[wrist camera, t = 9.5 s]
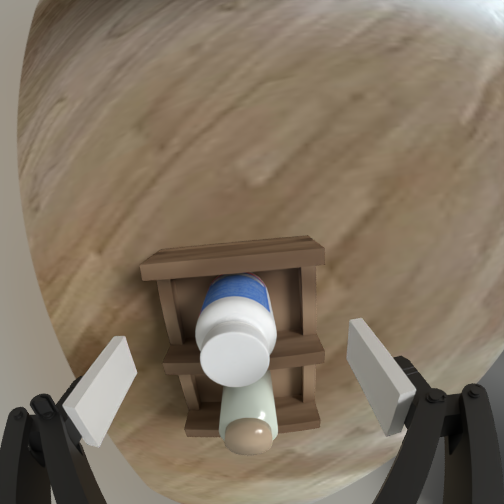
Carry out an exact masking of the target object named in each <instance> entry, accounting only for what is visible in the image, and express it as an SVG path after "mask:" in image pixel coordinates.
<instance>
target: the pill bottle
mask: <svg viewBox="0 0 504 504" xmlns="http://www.w3.org/2000/svg"><path fill="white" fill-rule="evenodd" d="M195 337H196V342H197V345H198V348H199V350H200V351H201V353H200V363H201V366H202V369H203V371H204V372H205V373H206V375H207V376H208V377H209V378H210V379H212V380H213V381H215V382H216V383H218V384H221V385H224V386H228V387H243V386H248V385H250V384H253V383H255V382H257V381H258V380H259V379H261V378H262V377H263V376H264V374H265V373H266V371H267V369H268V367H269V361H270V358H269V355H270V354H271V353H272V351H273V349H274V346H275V343H276V337H277V330H276V325H275V320H274V316H273V311H272V307H271V302H270V297H269V294H268V290H267V287H266V285H265V284H264V282H263V281H262V280H261V279H260V278H259V277H258V276H257V275H255V274H253V273H252V272H246V273H235V274H223V275H219V276H217V277H216V278H215V279H214V280H213V282H212V283H211V285H210V287H209V289H208V291H207V294H206V297H205V300H204V303H203V306H202V309H201V312H200V314H199V317H198V321H197V325H196V331H195Z"/></svg>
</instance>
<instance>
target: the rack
mask: <svg viewBox="0 0 504 504" xmlns="http://www.w3.org/2000/svg"><path fill="white" fill-rule="evenodd" d="M317 265H325V248H324V247H323V246H321V245H320V244H318V243H317V242H316V241H314V240H313V239H312V238H310V237H309V236H296V237H285V238H274V239H263V240H252V241H241V242H231V243H220V244H210V245H200V246H189V247H179V248H170V249H161V250H160V251H158V252H157V253H155V254H154V255H153V256H151V257H150V258H148V259H147V260H146V261H144V262H143V263H142V264H140V271H141V276H142V281H148V280H156V281H157V286H158V291H159V296H160V301H161V306H162V311H163V315H164V320H165V324H166V329H167V333H168V337H169V341H170V347H169V350H168V352H167V354H166V356H165V358H164V361H163V363H162V364H163V367H164V371H165V374H166V375H178V376H179V379H180V383H181V386H182V389H183V393H184V396H185V399H186V403H187V406H188V409H189V412H188V416H187V420H186V424H185V429H184V430H185V433H186V435H187V437H221V436H220V434H219V423H220V413H221V403H222V393H223V385H221V384H218V383H216V382H215V381H213V380H212V379H210V378H209V377H208V376H207V375H206V373H205V372H204V371H203V369H202V366H201V363H200V353H201V351H200V350H199V348H198V345H197V342H196V337H195V331H196V325H197V321H198V317H199V314H200V312H201V309H202V306H203V303H204V300H205V297H206V294H207V291H208V289H209V287H210V285H211V283H212V282H213V280H214V279H215V278H216V277H217V276H219V275H223V274H235V273H246V272H252V273H253V274H255V275H257V276H258V277H259V278H260V279H261V280H262V281H263V282H264V284H265V285H266V287H267V290H268V294H269V297H270V302H271V307H272V311H273V316H274V320H275V325H276V330H277V337H276V343H275V346H274V349H273V351H272V353H271V354H270V355H269V358H270V361H269V367H268V369H267V370H270V372H271V379H272V387H273V395H274V402H275V410H276V417H277V425H278V433H287V432H295V431H302V430H308V429H315V428H320V417H319V414H318V410H317V407H316V404H315V381H316V364H321V363H324V356H325V351H324V349H323V346H322V344H321V342H320V340H319V338H318V336H317V310H316V266H317Z"/></svg>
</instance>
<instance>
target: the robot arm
mask: <svg viewBox="0 0 504 504" xmlns="http://www.w3.org/2000/svg"><path fill="white" fill-rule="evenodd" d="M347 361H348V363H349V364H350V366H351V368H352V370H353V372H354V374H355V376H356V378H357V380H358V382H359V384H360V386H361V388H362V390H363V391H364V393H365V395H366V397H367V399H368V401H369V403H370V405H371V407H372V409H373V411H374V413H375V415H376V417H377V419H378V421H379V423H380V425H381V427H382V429H383V431H384V433H385V435H386V437H387V436H390V435H393V434H396V433H399V432H401V431H402V428H403V426H404V424H405V426H406V428H407V429H408V430H407V433H406V435H405V437H404V439H403V442H402V445H401V447H400V449H399V452H398V454H397V456H396V459H395V461H394V463H393V465H392V467H391V469H390V471H389V473H388V475H387V477H386V479H385V481H384V483H383V485H382V487H381V489H380V491H379V493H378V494H377V496H376V498H375V500H374V501H373V503H372V504H416V503H417V501H418V498H419V496H420V494H421V491H422V489H423V486H424V484H425V481H426V478H427V475H428V472H429V470H430V467H431V464H432V461H433V458H434V454H435V451H436V448H437V445H438V441H439V437H444V438H445V480H444V495H443V504H504V489H503V475H502V467H501V458H500V451H499V445H498V439H497V433H496V428H495V424H494V419H493V415H492V410H491V406H490V403H489V399H488V395H487V392H486V390H485V388H484V387H482V386H481V385H479V384H473V383H472V384H468V385H466V386H465V387H464V388H463V390H462V393H460V394H452V395H446V393H445V392H444V391H442V390H440V389H437V388H431V387H430V385H429V384H428V383H427V382H426V380H425V379H424V378H423V377H422V375H421V374H420V373H419V372H418V371H417V369H416V368H415V367H414V366H413V364H412V363H411V362H410V361H409V360H408V359H406V358H404V357H403V356H398V357H394V358H393V357H392V356H391V355H390V353H389V352H388V351H387V349H386V348H385V347H384V346H383V344H382V343H381V342H380V340H379V339H378V338H377V337H376V335H375V334H374V333H373V331H372V330H371V329H370V328H369V326H368V325H367V324H366V323H365V321H364V320H363V319H362V318H358V319H352V320H349V335H348V348H347ZM136 374H137V370H136V368H135V365H134V362H133V359H132V356H131V353H130V350H129V347H128V344H127V341H126V338H125V336H114V337H113V339H112V340H111V341H110V342H109V344H108V345H107V346H106V347H105V349H104V350H103V351H102V353H101V354H100V355H99V356H98V358H97V359H96V360H95V362H94V363H93V364H92V365H91V367H90V368H89V369H88V371H87V372H86V373H85V375H84V376H80V377H78V378H77V379H76V380H75V381H73V383H72V384H71V385H70V388H68V389H67V391H66V392H65V393H64V395H63V396H62V397H61V399H60V400H59V401H58V403H57V404H56V405H55V403H54V401H53V400H52V398H51V396H50V395H48V394H39V395H37V396H35V397H34V398H33V399H32V400H31V402H30V406H31V408H32V409H33V411H34V413H35V414H36V415H29V413H28V412H27V410H26V409H25V408H24V407H18V408H15V409H13V410H12V411H11V412H10V413H9V416H8V419H7V423H6V427H5V431H4V435H3V439H2V443H1V448H0V504H51V487H52V490H53V494H54V497H55V500H56V503H57V504H107V503H106V501H105V499H104V497H103V495H102V493H101V491H100V488H99V486H98V484H97V482H96V480H95V477H94V475H93V473H92V470H91V468H90V465H89V463H88V460H87V458H86V455H85V452H84V450H83V447H82V445H81V443H80V442H79V441H80V440H81V438H83V439H84V441H85V442H86V444H88V445H92V446H96V447H100V445H101V443H102V441H103V439H104V437H105V435H106V433H107V431H108V429H109V427H110V425H111V423H112V421H113V419H114V417H115V415H116V413H117V411H118V409H119V407H120V405H121V403H122V401H123V399H124V397H125V395H126V393H127V391H128V389H129V387H130V385H131V383H132V382H133V380H134V378H135V376H136Z"/></svg>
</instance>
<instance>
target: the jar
mask: <svg viewBox="0 0 504 504" xmlns="http://www.w3.org/2000/svg"><path fill="white" fill-rule="evenodd" d="M219 434H220V436H221V438H222V439H223V440H224V443H225V446H226V447H227V448H228V449H229V450H230V451H231V452H233V453H236V454H239V455H247V456H249V455H257V454H261V453H263V452H265V451H267V450H268V449H270V447H271V446H272V444H273V440H274V439H275V437H276V436H277V434H278V425H277V417H276V410H275V402H274V395H273V387H272V379H271V372H270V370H267V371H266V373H265V374H264V376H263V377H262V378H261V379H259V380H258V381H257V382H255V383H253V384H250V385H248V386H243V387H228V386H224V385H223V393H222V403H221V413H220V423H219Z"/></svg>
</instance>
